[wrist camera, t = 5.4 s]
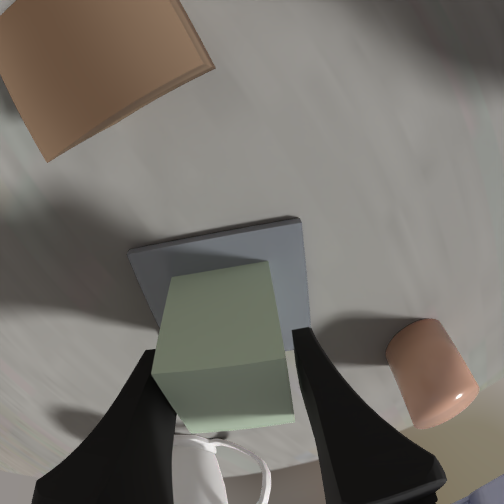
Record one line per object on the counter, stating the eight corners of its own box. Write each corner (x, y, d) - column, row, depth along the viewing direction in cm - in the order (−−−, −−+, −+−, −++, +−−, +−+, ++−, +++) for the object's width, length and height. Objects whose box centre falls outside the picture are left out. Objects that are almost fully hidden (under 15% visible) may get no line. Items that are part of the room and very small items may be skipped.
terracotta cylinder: (448, 311, 16) (489, 374, 12) (435, 355, 18) (465, 413, 14) (389, 328, 16) (424, 401, 12) (381, 371, 18) (406, 436, 14)
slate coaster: (299, 217, 13) (301, 222, 12) (310, 340, 16) (312, 346, 16) (129, 249, 13) (126, 254, 12) (179, 360, 16) (178, 365, 16)
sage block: (279, 330, 15) (295, 422, 11) (197, 342, 15) (191, 433, 11) (268, 260, 13) (286, 358, 9) (171, 277, 13) (150, 374, 9)
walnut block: (166, -22, 8) (124, -77, 3) (215, 68, 10) (203, 63, 5) (70, 38, 8) (-17, 34, 4) (115, 123, 10) (47, 163, 6)
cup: (128, 432, 21) (116, 523, 14) (242, 409, 19) (249, 524, 12) (180, 463, 25) (177, 540, 18) (281, 444, 23) (293, 533, 16)
